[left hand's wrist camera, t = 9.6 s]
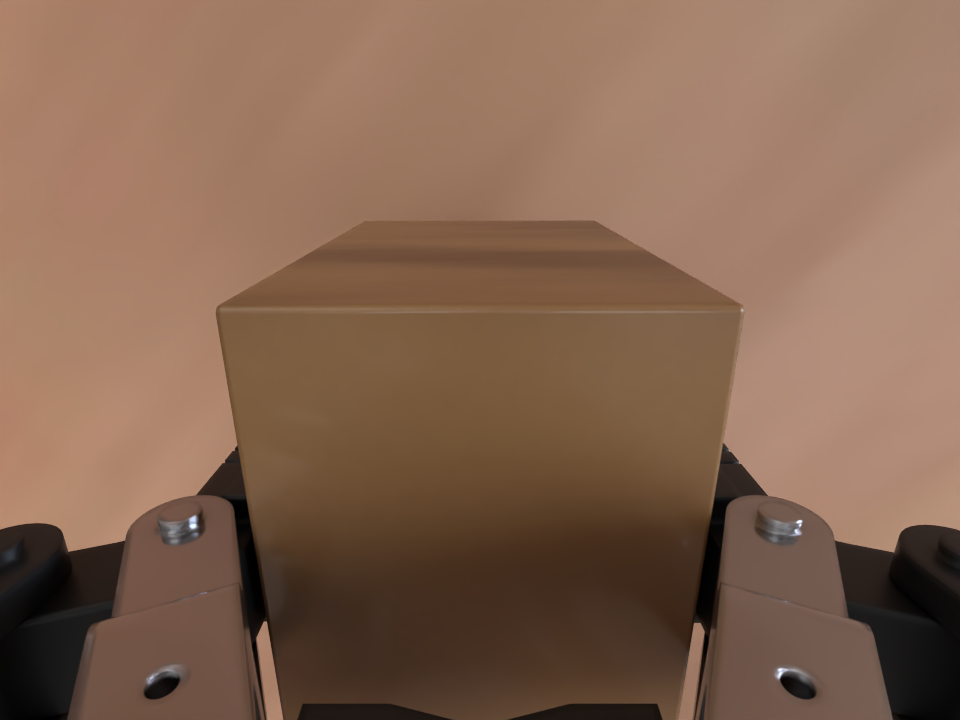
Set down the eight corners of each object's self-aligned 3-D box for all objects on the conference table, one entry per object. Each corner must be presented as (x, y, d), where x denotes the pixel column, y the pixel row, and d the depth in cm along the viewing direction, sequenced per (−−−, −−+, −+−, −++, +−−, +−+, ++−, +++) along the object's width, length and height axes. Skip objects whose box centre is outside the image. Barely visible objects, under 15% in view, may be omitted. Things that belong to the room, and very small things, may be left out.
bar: (362, 220, 14) (210, 306, 6) (597, 220, 14) (749, 305, 6) (405, 830, 22) (364, 1214, 14) (556, 830, 22) (599, 1214, 14)
